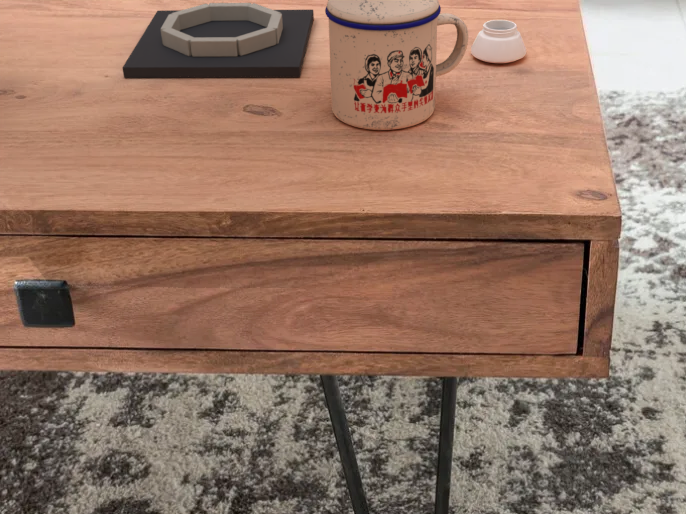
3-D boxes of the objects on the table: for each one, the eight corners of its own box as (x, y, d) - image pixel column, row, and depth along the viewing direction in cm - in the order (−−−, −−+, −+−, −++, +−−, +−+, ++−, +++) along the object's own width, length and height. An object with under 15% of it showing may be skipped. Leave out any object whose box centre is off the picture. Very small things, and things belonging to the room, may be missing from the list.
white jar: (522, 47, 99) (469, 47, 99) (525, 15, 98) (471, 16, 98) (527, 66, 95) (472, 66, 95) (530, 34, 93) (474, 34, 94)
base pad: (123, 78, 95) (119, 50, 94) (158, 20, 108) (155, -5, 106) (299, 77, 94) (298, 50, 93) (313, 19, 107) (312, -6, 106)
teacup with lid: (351, 140, 83) (347, -10, 76) (314, 99, 90) (307, -42, 83) (487, 116, 86) (496, -30, 79) (442, 78, 93) (446, -59, 86)
